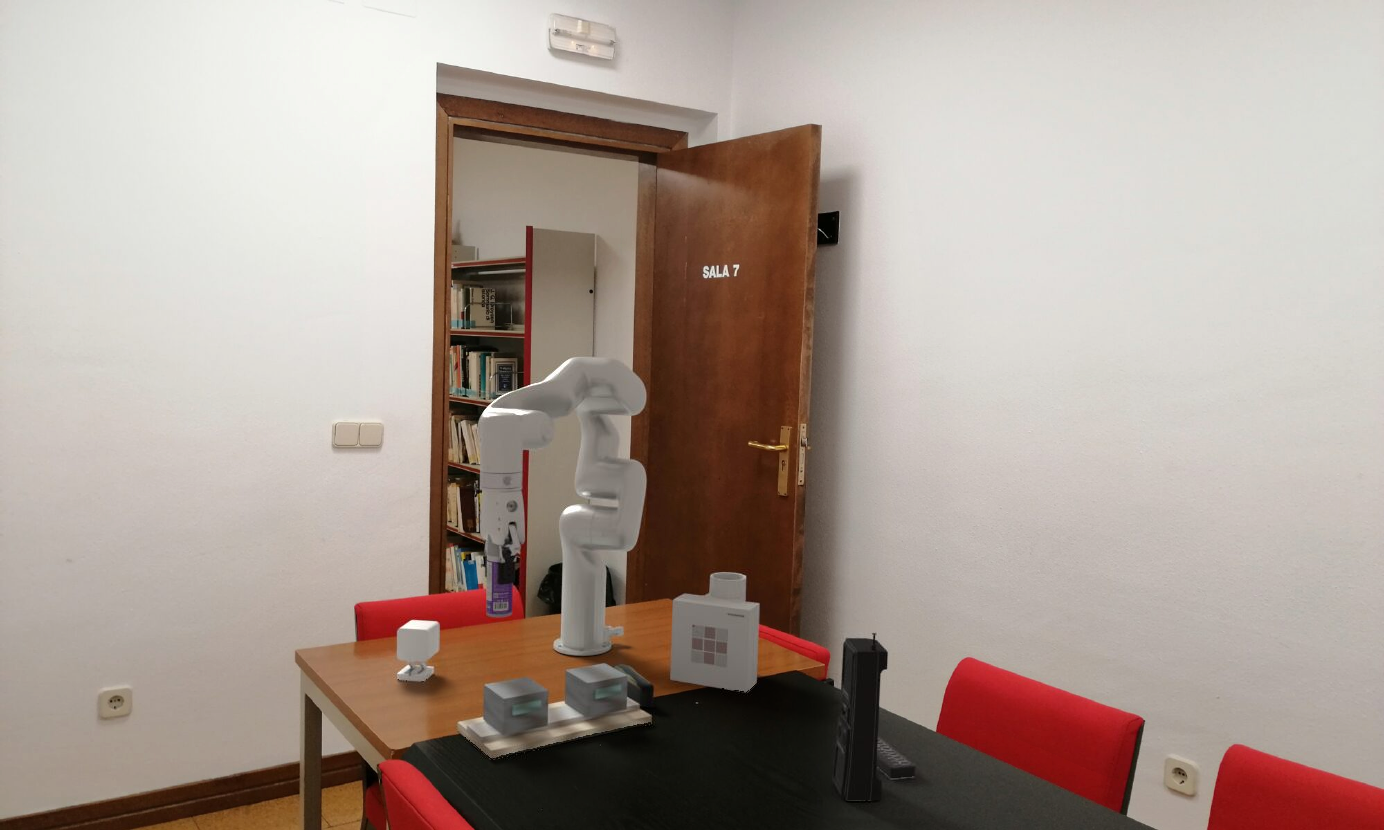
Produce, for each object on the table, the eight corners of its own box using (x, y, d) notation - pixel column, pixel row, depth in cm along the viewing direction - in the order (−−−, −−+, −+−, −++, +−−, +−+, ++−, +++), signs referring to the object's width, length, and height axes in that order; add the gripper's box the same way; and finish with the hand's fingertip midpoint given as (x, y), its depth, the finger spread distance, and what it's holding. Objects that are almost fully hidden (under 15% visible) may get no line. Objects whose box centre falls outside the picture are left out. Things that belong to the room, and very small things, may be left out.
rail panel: (610, 699, 183) (612, 655, 182) (651, 723, 171) (652, 677, 171) (457, 730, 165) (458, 682, 165) (491, 759, 154) (492, 708, 154)
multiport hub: (891, 782, 151) (891, 768, 151) (849, 746, 165) (849, 733, 165) (916, 780, 153) (917, 765, 153) (872, 744, 166) (873, 731, 166)
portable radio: (829, 779, 151) (836, 620, 149) (867, 779, 151) (874, 620, 150) (841, 802, 143) (848, 634, 142) (881, 802, 144) (889, 635, 142)
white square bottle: (669, 680, 195) (672, 581, 194) (703, 655, 212) (706, 564, 211) (746, 693, 189) (750, 591, 188) (775, 666, 206) (778, 572, 205)
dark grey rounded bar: (657, 682, 179) (620, 657, 192) (642, 685, 178) (606, 659, 191) (656, 709, 180) (619, 682, 193) (641, 711, 178) (605, 684, 191)
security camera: (439, 670, 196) (439, 621, 196) (426, 681, 189) (427, 631, 189) (408, 668, 197) (409, 619, 196) (394, 679, 190) (395, 629, 189)
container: (517, 611, 180) (518, 531, 179) (504, 618, 176) (505, 536, 175) (494, 609, 182) (495, 529, 180) (481, 615, 177) (482, 533, 176)
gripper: (541, 486, 172) (539, 587, 173) (501, 473, 186) (499, 568, 187) (501, 488, 168) (500, 593, 169) (463, 476, 182) (462, 572, 183)
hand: (499, 579), depth 178 cm, fingers closed on container, 4 cm apart
